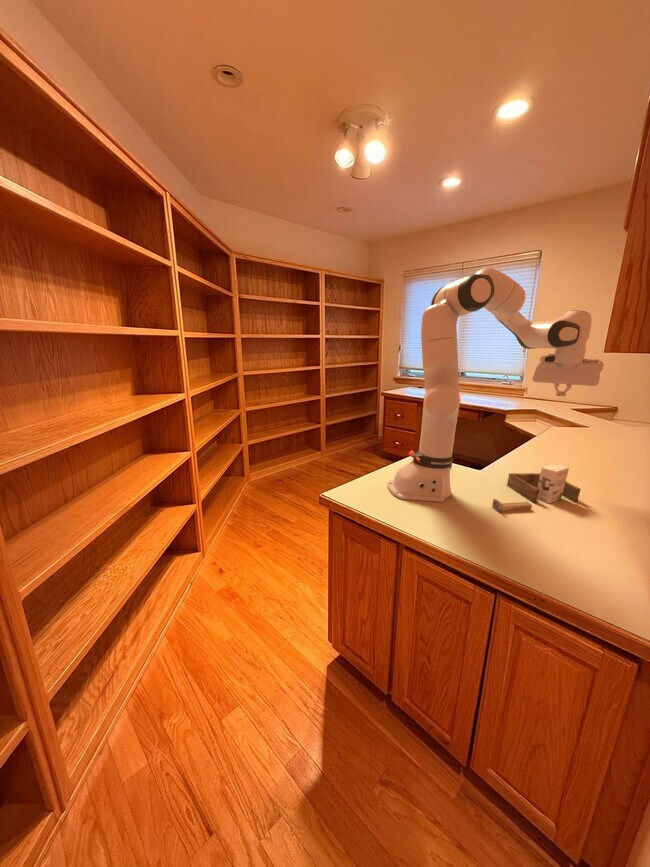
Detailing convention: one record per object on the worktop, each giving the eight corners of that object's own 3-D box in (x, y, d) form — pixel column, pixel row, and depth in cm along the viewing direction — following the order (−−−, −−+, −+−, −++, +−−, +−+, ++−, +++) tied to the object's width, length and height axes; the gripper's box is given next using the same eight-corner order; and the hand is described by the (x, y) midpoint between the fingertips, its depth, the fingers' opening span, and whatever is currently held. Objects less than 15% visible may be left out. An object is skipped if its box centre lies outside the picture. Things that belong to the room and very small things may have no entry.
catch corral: (533, 502, 111) (536, 489, 110) (506, 485, 125) (509, 473, 123) (577, 502, 113) (580, 488, 111) (546, 485, 126) (549, 473, 125)
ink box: (547, 493, 119) (554, 463, 116) (562, 498, 115) (569, 467, 112) (534, 498, 115) (541, 466, 112) (549, 504, 111) (557, 471, 108)
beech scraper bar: (532, 511, 105) (534, 502, 104) (499, 513, 103) (500, 504, 102) (524, 506, 109) (526, 497, 108) (491, 508, 107) (493, 499, 106)
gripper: (602, 359, 116) (593, 397, 120) (535, 357, 126) (528, 392, 129) (607, 359, 111) (596, 400, 114) (536, 357, 121) (529, 394, 124)
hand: (560, 396), depth 122 cm, fingers closed
